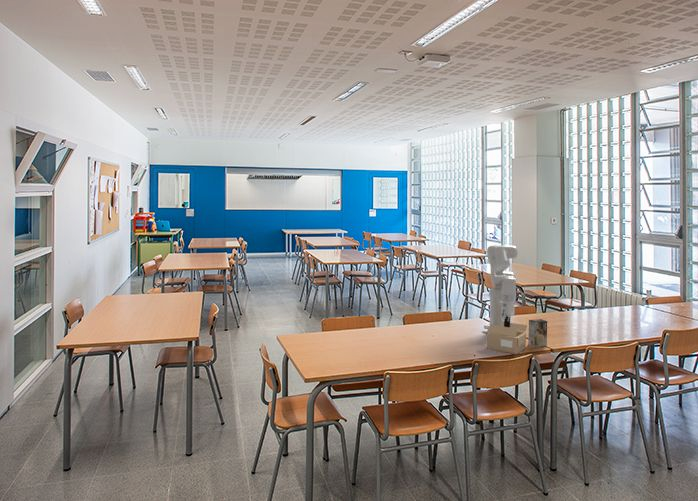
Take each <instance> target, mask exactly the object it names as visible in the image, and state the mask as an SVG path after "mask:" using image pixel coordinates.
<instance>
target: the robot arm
mask: <svg viewBox="0 0 698 501" xmlns="http://www.w3.org/2000/svg"><path fill="white" fill-rule="evenodd" d="M518 252H519V251H518V249H517V247H516V246H515V245H498V244H497V245H489V246H488V247H487V249H486V255H487V259H488V262H489V266H490V282H491V286H493V287H492V288H490V289H489V291H488V297H489V325H484V326H483V329H484V330H486V333H488V332H489V329H490V325H497V326H500V324H501V321H502V322H504V327H510V323H511V319H512V317H514V315H515V301H516V299H517V286H516V285H517V283H516V281H517V279H516V276H515V273H513V272H512V271H505V270H508V269H509V267H510V266H511V263H510V262H511V261H510V259H511V260H512V259H517V257H518V254H519V253H518Z"/></svg>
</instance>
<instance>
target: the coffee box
mask: <svg viewBox="0 0 698 501" xmlns="http://www.w3.org/2000/svg"><path fill="white" fill-rule="evenodd" d="M527 339H528V344H527V345H528V346H530V347H532V348H540V346H543V347H547V346H548V345H547V343H548V342H547V340H548V321H547V320H546V319H542V318H535V319H529V320H528V338H527Z"/></svg>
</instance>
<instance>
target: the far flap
mask: <svg viewBox="0 0 698 501" xmlns="http://www.w3.org/2000/svg"><path fill="white" fill-rule="evenodd" d="M500 326H503V327H504V322H502V321H501V324H500ZM509 328H516V329H517V331H522V332H526V330H527V328H528V324H521V323H516V322H510V327H509Z"/></svg>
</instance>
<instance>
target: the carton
mask: <svg viewBox="0 0 698 501" xmlns="http://www.w3.org/2000/svg"><path fill="white" fill-rule="evenodd" d="M486 333H487V332H486ZM526 342H527V332H526V331H525V332H522V331H517V333H516V337H514V336H508V335H502V334H496V333H490V332H488V333H487V334H486V349H488V350H492V351H497V352H501V353H507V354H513V355H518V354H519V353H520V352H522V351H523V350H525V349H526V346H527V345H526Z"/></svg>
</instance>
